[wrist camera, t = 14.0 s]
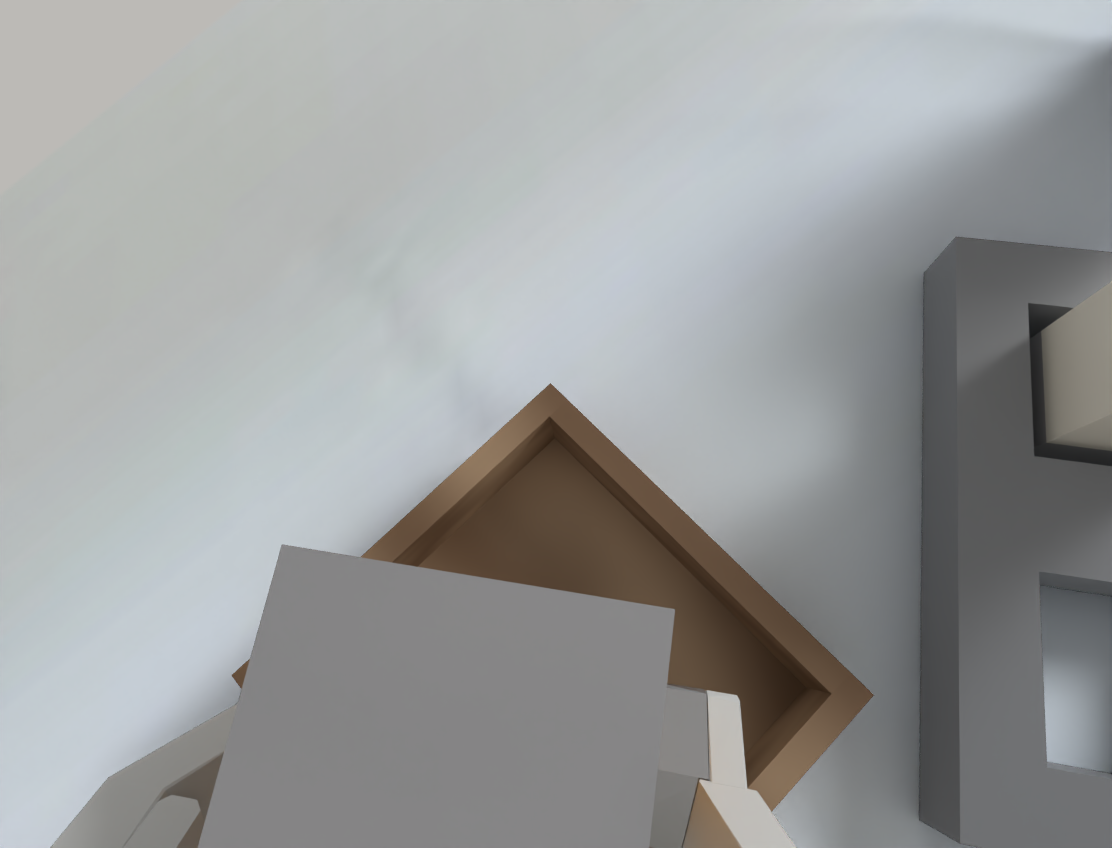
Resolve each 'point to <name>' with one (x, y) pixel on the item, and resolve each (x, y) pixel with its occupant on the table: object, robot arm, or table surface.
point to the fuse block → (1001, 550)
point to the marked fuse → (441, 714)
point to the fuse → (1074, 383)
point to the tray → (632, 576)
